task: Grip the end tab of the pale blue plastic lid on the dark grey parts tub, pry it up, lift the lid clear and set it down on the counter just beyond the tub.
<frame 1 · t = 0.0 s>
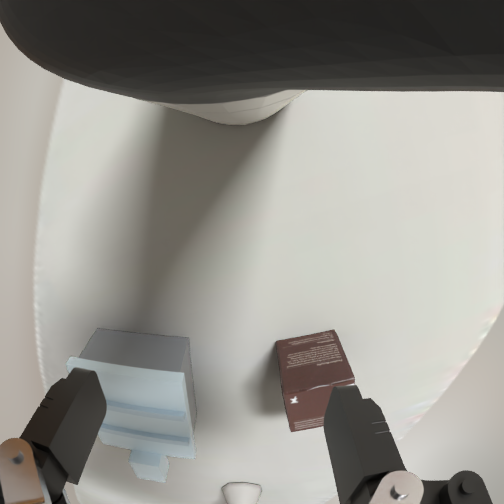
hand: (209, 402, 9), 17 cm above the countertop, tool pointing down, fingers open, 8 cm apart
flask: (242, 487, 43), on the countertop
lid: (136, 411, 26), point 5 cm above the countertop, touching tub
tub: (149, 375, 31), on the countertop
box: (307, 354, 30), on the countertop
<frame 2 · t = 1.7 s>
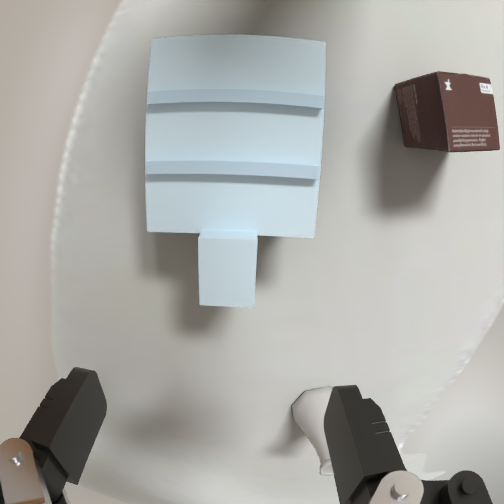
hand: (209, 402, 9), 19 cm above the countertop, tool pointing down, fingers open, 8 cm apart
flask: (319, 403, 35), on the countertop
lid: (233, 132, 19), point 5 cm above the countertop, touching tub
box: (423, 114, 23), on the countertop
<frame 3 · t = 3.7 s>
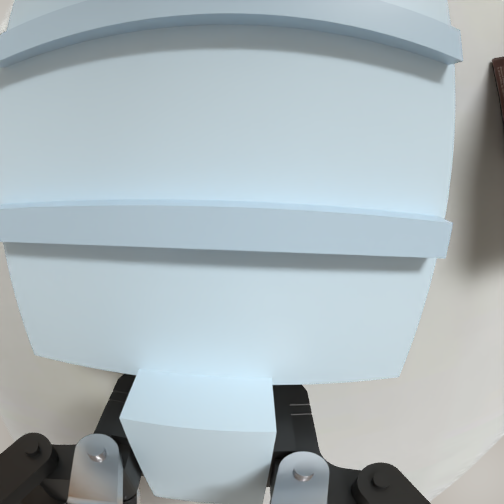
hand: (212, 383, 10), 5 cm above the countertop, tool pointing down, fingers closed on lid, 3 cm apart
lid: (208, 113, 6), point 6 cm above the countertop, touching gripper, tub
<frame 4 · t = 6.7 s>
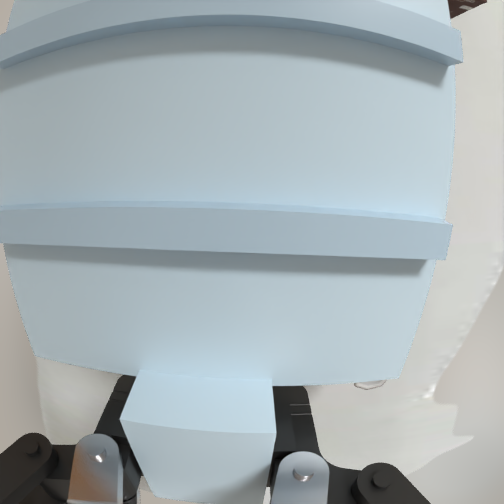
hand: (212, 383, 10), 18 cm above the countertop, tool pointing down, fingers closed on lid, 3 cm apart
lid: (208, 115, 6), point 19 cm above the countertop, touching gripper
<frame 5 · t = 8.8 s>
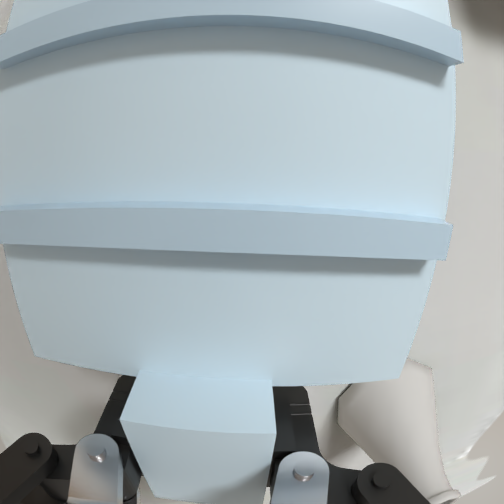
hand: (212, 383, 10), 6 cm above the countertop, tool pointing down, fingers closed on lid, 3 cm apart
flask: (383, 393, 19), on the countertop
lid: (208, 115, 6), point 7 cm above the countertop, touching gripper
when the fingers open (1 cm above the countertop, at t = 10.1 s): lid drops 2 cm, on the countertop.
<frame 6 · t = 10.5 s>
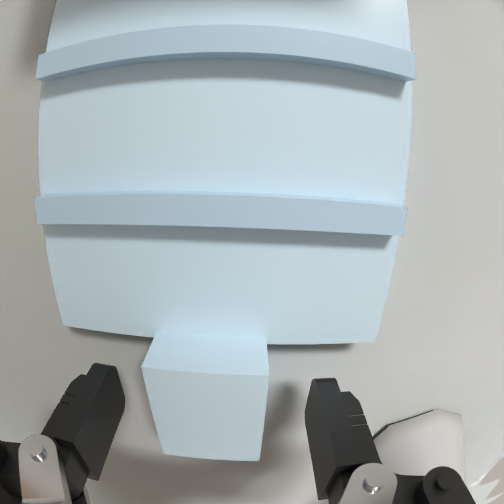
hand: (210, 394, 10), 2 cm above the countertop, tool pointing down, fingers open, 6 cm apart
flask: (404, 442, 14), on the countertop
lid: (216, 126, 9), on the countertop
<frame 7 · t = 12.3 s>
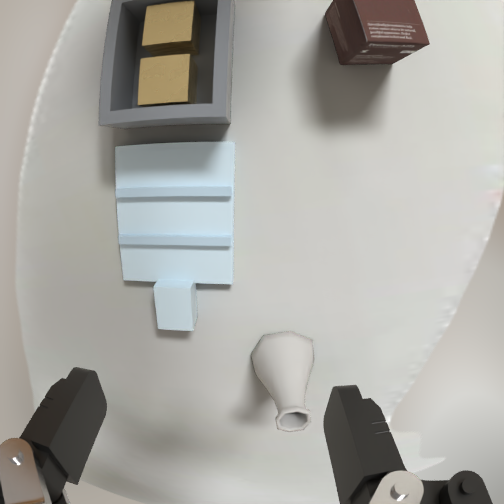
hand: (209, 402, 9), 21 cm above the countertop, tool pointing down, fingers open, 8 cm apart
brass block b: (174, 88, 24), point 1 cm above the countertop, touching tub
brass block a: (178, 37, 22), point 1 cm above the countertop, touching tub
flask: (282, 354, 34), on the countertop
lid: (175, 212, 28), on the countertop
tub: (177, 63, 24), on the countertop
box: (359, 38, 23), on the countertop
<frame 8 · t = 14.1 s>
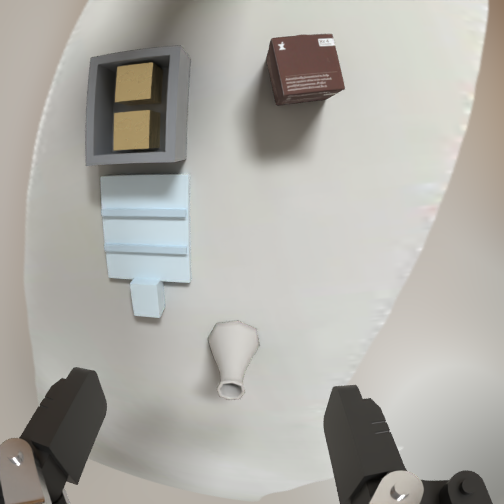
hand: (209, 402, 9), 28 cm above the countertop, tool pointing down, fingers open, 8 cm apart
brass block b: (143, 131, 32), point 1 cm above the countertop, touching tub
brass block a: (145, 87, 30), point 1 cm above the countertop, touching tub
flask: (234, 339, 42), on the countertop
lid: (146, 227, 36), on the countertop
tub: (145, 109, 31), on the countertop
box: (296, 78, 31), on the countertop
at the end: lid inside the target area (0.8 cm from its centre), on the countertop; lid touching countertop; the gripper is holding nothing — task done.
